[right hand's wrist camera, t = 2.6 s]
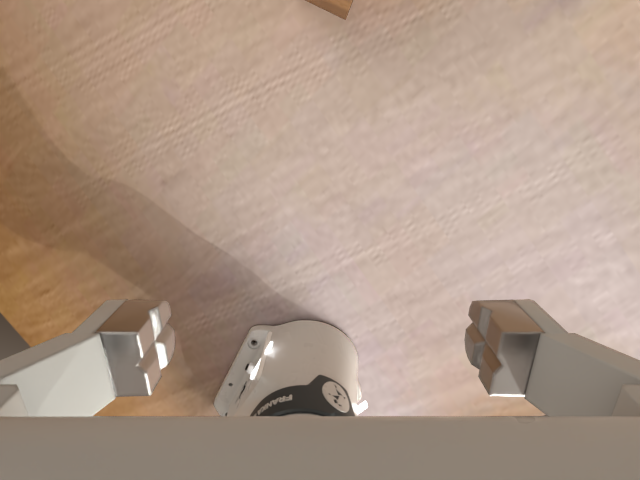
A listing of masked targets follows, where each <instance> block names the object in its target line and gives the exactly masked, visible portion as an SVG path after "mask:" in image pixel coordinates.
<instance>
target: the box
mask: <svg viewBox="0 0 640 480" xmlns="http://www.w3.org/2000/svg"><path fill="white" fill-rule="evenodd" d="M306 1H308V2H310V3H312V4H314V5H316V6H318V7H320V8H322V9H324V10H326V11H328V12H330V13H332V14H335V15H337V16H339V17H341V18H343V19H346V17H347V15H348V12H349V9H350V7H351V4H352V2H353V0H306Z"/></svg>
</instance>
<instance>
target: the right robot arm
mask: <svg viewBox="0 0 640 480" xmlns="http://www.w3.org/2000/svg"><path fill="white" fill-rule="evenodd" d="M171 315H172V314H171V309H170V304H169V303H168V302H167V301H166V300H128V299H121V300H107V301H105V302H104V303H103V304H102V305H101V306H100V307H99V308H98V309H97V310H96V311H95V312H94V313H93V314H92V315H90V316H89V317H88V318H87V319H86V320H85V321H84V322H83V323H82V324H81V325H80V326H79V327H78V328H77V329H75V330H74V331H73V332H72V333H65V334H62V335H60V336H58V337H55V338H53V339H50V340H48V341H46V342H43V343H41V344H38V345H36V346H34V347H31V348H29V349H26V350H24V351H22V352H19V353H17V354H15V355H12V356H10V357H7V358H5V359H3V360H0V480H640V360H637V359H635V358H632V357H630V356H628V355H625V354H623V353H621V352H618V351H616V350H613V349H611V348H609V347H606V346H604V345H602V344H599V343H597V342H594V341H592V340H590V339H587V338H585V337H582V336H580V335H578V334H575V333H568V332H567V331H566V330H565V329H563V328H562V327H561V326H560V325H559V324H558V323H557V322H556V321H555V320H554V319H553V318H552V317H551V316H550V315H549V314H547V313H546V312H545V311H544V310H543V309H542V308H541V307H540V306H539V305H538V304H537V303H536V302H535V301H533V300H530V299H523V300H484V301H472V303H471V305H470V308H469V314H468V315H469V317H470V318H471V320H472V321H473V323H472V324H471V325H470V326H469V327H468V328H467V329H466V333H465V350H466V353H467V357H468V359H469V361H470V363H471V364H472V365H473V366H475V367H476V368H478V369H479V376H478V377H479V378H480V380H481V382H482V384H483V385H484V387H485V389H486V390H487V392H488V394H489V396H519V397H525V399H526V400H527V401H529V402H530V403H531V404H533V405H534V406H535V407H537V408H538V409H539V410H541V411H542V412H543V413H545V414H546V415H547V416H358V414H359V413H360V412H362V411H363V410H365V409H366V408H367V402H366V401H364V402H363V403H361V404H360V405H358V401H359V400H360V399H361V387H360V384H359V381H358V379H357V373H358V355H357V351H356V349H355V347H354V345H353V343H352V342H351V340H350V339H349V338H348V337H347V336H346V335H345V334H344V333H343V332H341V331H340V330H339V329H337V328H335V327H333V326H331V325H329V324H326V323H323V322H319V321H313V320H299V321H292V322H288V323H285V324H282V325H277V326H270V325H256V326H253V327H252V328H251V329H250V330H249V332H248V334H247V336H246V338H245V340H244V342H243V344H242V346H241V348H240V350H239V352H238V354H237V355H236V357H235V359H234V361H233V363H232V365H231V367H230V369H229V371H228V373H227V375H226V377H225V379H224V381H223V383H222V385H221V387H220V389H219V391H218V393H217V395H216V397H215V400H214V407H215V408H216V410H217V412H218V413H219V414H220V415H221V416H93V415H94V414H96V413H97V412H98V411H100V410H101V409H102V408H103V407H105V406H106V405H107V404H109V403H110V402H111V401H113V400H114V399H115V397H121V396H151V394H152V392H153V391H154V389H155V387H156V385H157V384H158V382H159V380H160V378H161V377H162V376H161V369H162V368H164V367H165V366H167V365H168V364H169V362H170V361H171V359H172V357H173V353H174V349H175V332H174V329H173V328H172V327H171V326H170V325H169V324H168V323H167V321H168V320H169V318H170V317H171ZM253 340H255V341H257V342H253Z"/></svg>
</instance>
